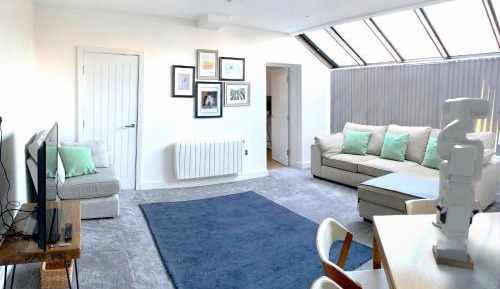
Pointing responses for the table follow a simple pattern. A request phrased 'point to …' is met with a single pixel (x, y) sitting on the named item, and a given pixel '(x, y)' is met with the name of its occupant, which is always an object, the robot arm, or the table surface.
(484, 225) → the table surface
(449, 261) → the walnut base slab
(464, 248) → the slate grey slab
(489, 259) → the table surface
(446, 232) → the supplement box
